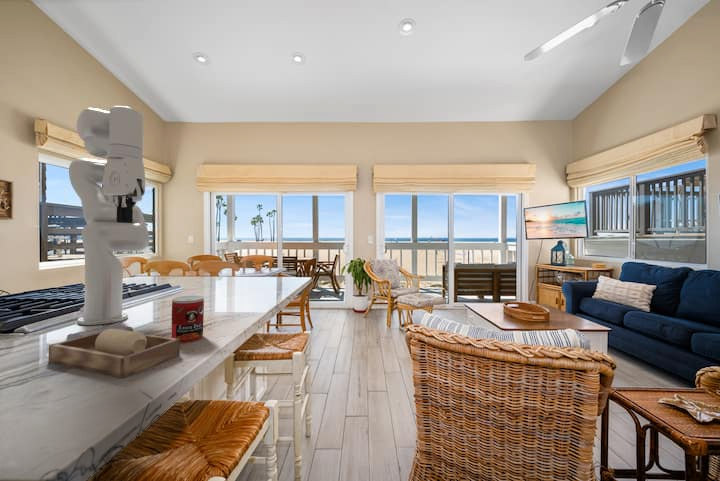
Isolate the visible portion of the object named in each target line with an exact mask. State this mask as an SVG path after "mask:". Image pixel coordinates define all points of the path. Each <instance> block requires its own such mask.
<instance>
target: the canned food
mask: <svg viewBox="0 0 720 481" xmlns="http://www.w3.org/2000/svg"><path fill="white" fill-rule="evenodd" d="M204 300H205V299H204V296H202V295H181V296H175V297H174V298H172V299H171V334H170V335H171V337H170V338H176V339H180V344H182V343H191V342H195V341H196V342H197V341H199V340H200V339H202V338H203V335H204V315H205V314H204V312H205V311H204V310H205V308H204V307H205V303H204V302H205V301H204Z"/></svg>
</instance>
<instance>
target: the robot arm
mask: <svg viewBox="0 0 720 481" xmlns="http://www.w3.org/2000/svg"><path fill="white" fill-rule="evenodd" d="M76 132H77V135H78V136H79V138H80V139H81V140H82V141H83V142H84V143H83V146H84V149H85V151H86V152H88V154H89V155H91V156H93V157H95V158H97V159H93V158H89V159H88V158H78V159H74V160H72V161H71V163H70V164H69V167H68V177H69V181H70V185H71V186H72V189H73V190H74V192H75V194H76V195H77V196H78V198H79V199H80V201H81V207H82V212H83V213H82V214H83V217H84V221H85V223H86V225H85V226H83V228H82V229H81V230H82V231H81V240H82V246H83V252H84V303H83V304H84V305H83V307H81V308H80V309H79V312H80V313H83V314H82V316H81V317H78V319H77V324H78V325H82V326H98V325H99V326H100V325H107V324H114V323H119V322H122V321H125V320H126V319H128V317H129V314H128V313H126V312H123V288H124V287H123V284H124V283H123V279H124V276H123V275H124V272H123V271H124V267H123V263H122V261H121V260H120V259H119V258H118V257H117V256H116V255H115V254H114V253H117V252H142V251H144V250H146V248H148V246H149V244H150V234H149V230H148V227H147V224H146V220H145V218H144V215H143V211H142V208H140V207H139V206H138V205H137V204H136V203H138V202H140V201H142V200H143V196H144V195H145V193H146V172H145V164H144V161H143V160H144V159H143V156H144V154H143V153H144V148H143V147H144V116H143V114H142V112H140V111H139V110H137V109H136V108H132V107H129V106H124V105H114V106H112V107H110V108H109V110H108V111H107V110H102V109H99V108H92V107H86V108H84V109H82V111H80V113H79V115H78V117H77V120H76ZM98 159H101V160H98ZM102 159H103V160H102ZM101 185H102V186H101Z"/></svg>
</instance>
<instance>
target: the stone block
mask: <svg viewBox="0 0 720 481" xmlns="http://www.w3.org/2000/svg"><path fill="white" fill-rule="evenodd" d="M107 329H120V330H126V331H133V332H135V331H134V327H132V326H129V325H125V324H119V323H117V324H111V325H106V326H101V327H96V328H93V329H90V330H84V331H78V332H75V333H69V334H67V335H66V339H65V341H67V340H71V339H75V338H79V337H83V336H87V335H91V334H95V333H98V332H102V331H104V330H107Z"/></svg>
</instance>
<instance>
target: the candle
mask: <svg viewBox="0 0 720 481" xmlns="http://www.w3.org/2000/svg"><path fill="white" fill-rule="evenodd" d="M133 331H134V330H133ZM133 331H126V330H120V329H107V330H104V331H103V332H101V333H100V334H99V335H98V337H97V339H96V341H95V348H96V350H97V351H98V352H104V353H110V354H115V355H121V356H128V355H131V354H134V353H136V352H139V351H142V350H145V348H146V344H147V339H146V336H145V335H144V334H145V333H142V332H138V331H134V332H133Z"/></svg>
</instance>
